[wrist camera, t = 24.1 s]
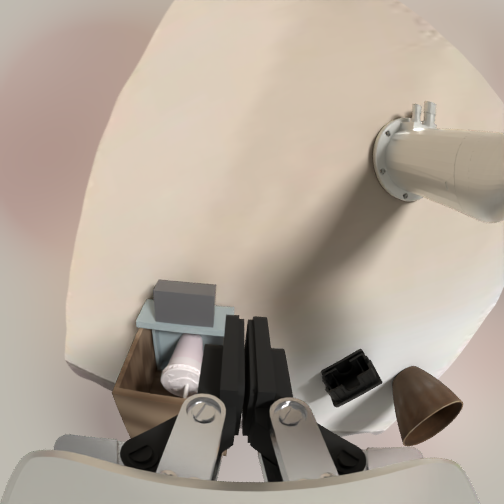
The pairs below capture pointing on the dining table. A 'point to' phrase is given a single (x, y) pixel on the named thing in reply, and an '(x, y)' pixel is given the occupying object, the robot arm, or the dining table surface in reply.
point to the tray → (175, 331)
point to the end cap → (350, 378)
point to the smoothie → (184, 366)
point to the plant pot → (422, 405)
